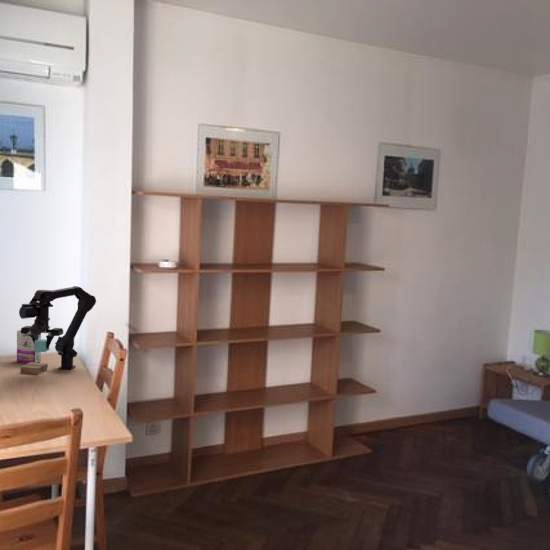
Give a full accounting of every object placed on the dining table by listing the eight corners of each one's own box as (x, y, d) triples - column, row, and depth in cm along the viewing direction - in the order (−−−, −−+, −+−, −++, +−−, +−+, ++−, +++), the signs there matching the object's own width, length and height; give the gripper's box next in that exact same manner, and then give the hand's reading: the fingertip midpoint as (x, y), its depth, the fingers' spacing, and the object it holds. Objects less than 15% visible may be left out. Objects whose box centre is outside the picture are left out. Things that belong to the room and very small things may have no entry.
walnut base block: (30, 368, 298) (30, 362, 297) (47, 369, 297) (47, 363, 296) (20, 372, 289) (20, 366, 288) (38, 374, 288) (38, 368, 287)
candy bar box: (41, 362, 310) (41, 330, 308) (34, 364, 305) (34, 332, 303) (22, 359, 313) (23, 328, 311) (16, 361, 308) (16, 330, 306)
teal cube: (39, 349, 292) (39, 339, 291) (49, 349, 292) (49, 339, 291) (34, 351, 287) (34, 341, 286) (44, 352, 287) (44, 341, 286)
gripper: (15, 318, 280) (14, 351, 282) (54, 320, 279) (53, 353, 281) (26, 314, 291) (26, 345, 293) (64, 316, 290) (63, 348, 292)
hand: (41, 348), depth 289 cm, fingers closed on teal cube, 5 cm apart
